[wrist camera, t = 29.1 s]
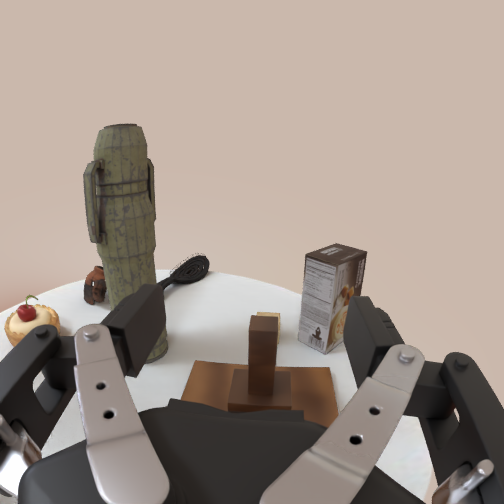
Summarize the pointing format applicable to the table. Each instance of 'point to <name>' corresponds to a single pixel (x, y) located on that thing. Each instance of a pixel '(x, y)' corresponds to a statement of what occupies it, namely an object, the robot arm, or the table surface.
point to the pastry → (29, 320)
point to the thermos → (123, 214)
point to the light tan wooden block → (271, 315)
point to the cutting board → (302, 378)
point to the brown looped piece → (95, 286)
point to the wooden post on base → (260, 372)
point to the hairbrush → (188, 267)
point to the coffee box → (329, 294)
